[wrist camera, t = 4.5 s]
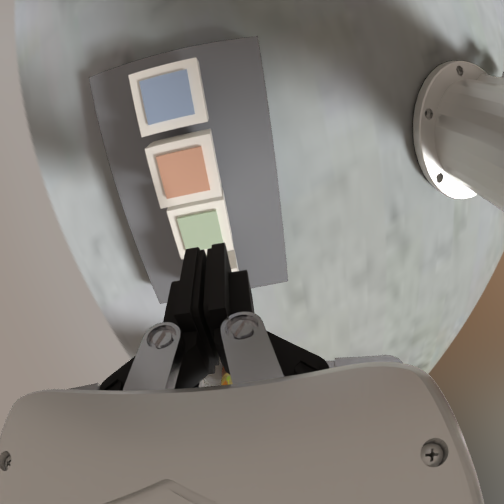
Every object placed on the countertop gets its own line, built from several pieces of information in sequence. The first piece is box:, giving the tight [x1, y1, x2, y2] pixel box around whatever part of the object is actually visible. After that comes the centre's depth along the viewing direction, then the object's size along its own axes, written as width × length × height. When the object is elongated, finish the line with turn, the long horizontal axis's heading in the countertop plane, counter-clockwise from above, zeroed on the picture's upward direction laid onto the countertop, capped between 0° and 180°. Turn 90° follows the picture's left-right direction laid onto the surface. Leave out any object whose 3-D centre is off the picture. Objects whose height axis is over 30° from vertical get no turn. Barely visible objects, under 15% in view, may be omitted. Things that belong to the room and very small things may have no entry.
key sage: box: [167, 188, 234, 260], centre depth 18 cm, size 3×3×4 cm
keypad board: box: [89, 36, 288, 304], centre depth 18 cm, size 17×10×2 cm, turn 8°
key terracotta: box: [145, 129, 222, 209], centre depth 15 cm, size 3×3×4 cm
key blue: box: [128, 57, 209, 137], centre depth 13 cm, size 3×3×4 cm
